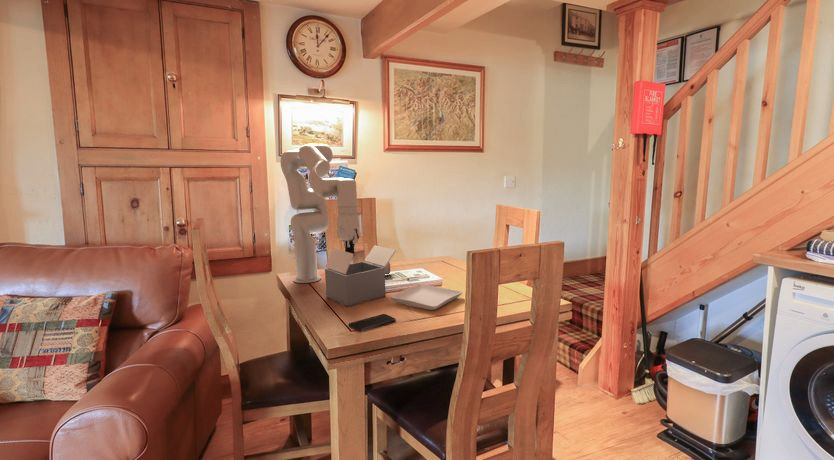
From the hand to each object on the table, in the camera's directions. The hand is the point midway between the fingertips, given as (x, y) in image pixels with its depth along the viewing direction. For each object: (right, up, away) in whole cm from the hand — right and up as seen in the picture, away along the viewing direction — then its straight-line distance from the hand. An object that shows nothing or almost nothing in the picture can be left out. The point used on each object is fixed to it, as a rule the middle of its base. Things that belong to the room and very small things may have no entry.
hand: (350, 256), depth 175 cm
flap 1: (-4, -2, -3) cm, 5 cm away
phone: (+12, -22, -26) cm, 35 cm away
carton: (+2, -17, +4) cm, 17 cm away
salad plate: (+30, -18, -3) cm, 35 cm away
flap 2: (+11, 0, +9) cm, 14 cm away
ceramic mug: (+9, -12, +37) cm, 40 cm away
